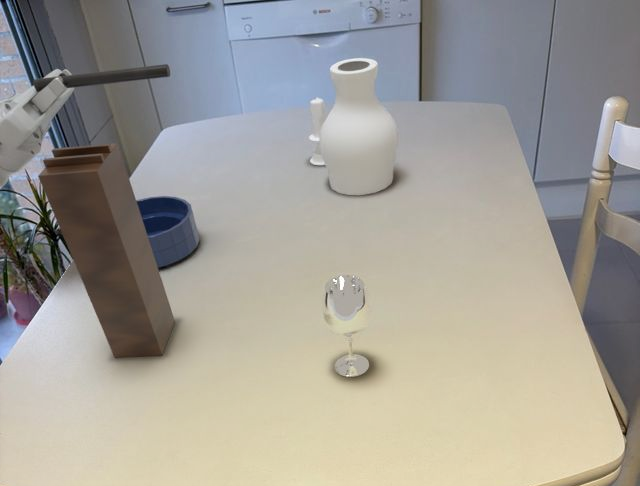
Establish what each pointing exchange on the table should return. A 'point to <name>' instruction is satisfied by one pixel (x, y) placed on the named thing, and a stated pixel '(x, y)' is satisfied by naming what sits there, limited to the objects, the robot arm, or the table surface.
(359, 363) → the wineglass
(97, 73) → the chopstick
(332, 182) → the vase
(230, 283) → the table surface
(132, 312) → the stand
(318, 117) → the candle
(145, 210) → the bowl
